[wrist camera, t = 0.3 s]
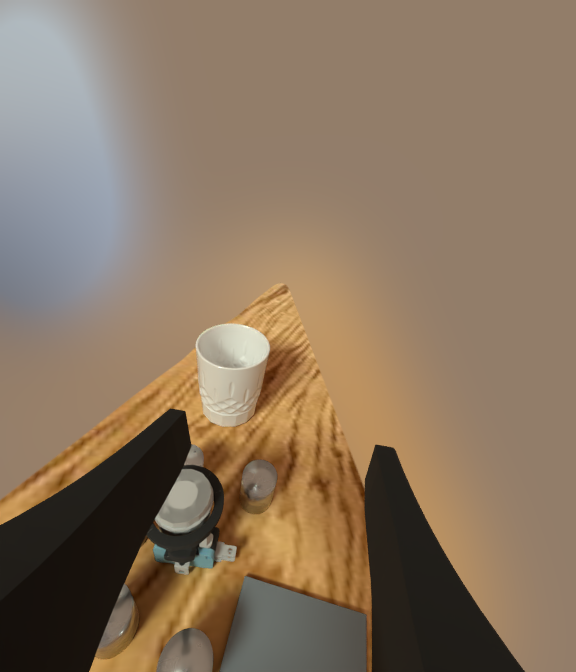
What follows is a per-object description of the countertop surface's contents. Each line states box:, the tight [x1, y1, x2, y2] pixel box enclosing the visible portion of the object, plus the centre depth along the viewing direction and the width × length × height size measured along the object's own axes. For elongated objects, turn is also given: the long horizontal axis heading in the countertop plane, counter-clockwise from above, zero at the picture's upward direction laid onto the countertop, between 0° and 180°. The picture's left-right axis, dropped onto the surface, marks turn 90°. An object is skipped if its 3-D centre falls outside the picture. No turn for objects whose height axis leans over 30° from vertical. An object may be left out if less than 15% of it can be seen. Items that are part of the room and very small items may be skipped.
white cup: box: [196, 324, 270, 427], centre depth 36 cm, size 8×8×10 cm
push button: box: [146, 465, 237, 575], centre depth 23 cm, size 7×5×10 cm
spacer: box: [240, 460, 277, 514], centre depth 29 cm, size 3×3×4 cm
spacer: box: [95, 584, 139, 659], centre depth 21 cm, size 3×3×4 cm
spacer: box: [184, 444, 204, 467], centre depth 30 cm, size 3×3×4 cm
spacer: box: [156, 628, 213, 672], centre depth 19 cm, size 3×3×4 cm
